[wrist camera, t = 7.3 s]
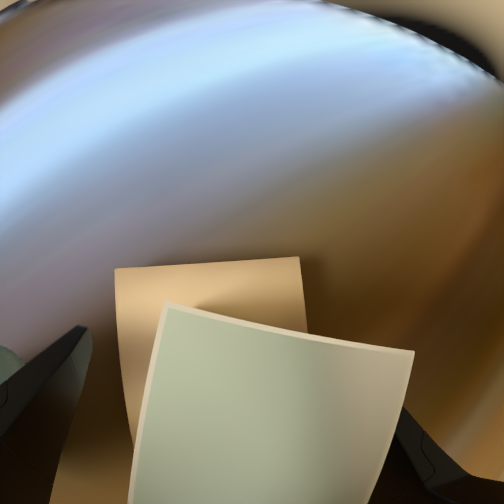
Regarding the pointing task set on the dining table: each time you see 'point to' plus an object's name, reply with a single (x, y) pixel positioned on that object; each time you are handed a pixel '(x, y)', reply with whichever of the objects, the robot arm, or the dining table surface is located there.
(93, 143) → the dining table surface
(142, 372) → the tan square coaster
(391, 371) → the tea tin
